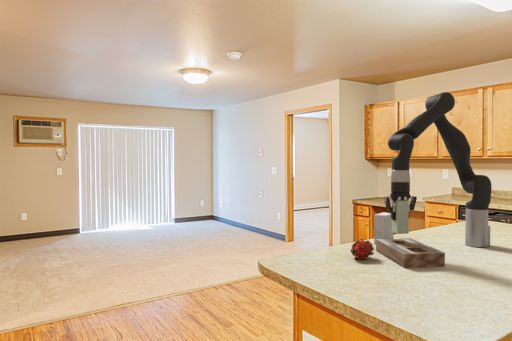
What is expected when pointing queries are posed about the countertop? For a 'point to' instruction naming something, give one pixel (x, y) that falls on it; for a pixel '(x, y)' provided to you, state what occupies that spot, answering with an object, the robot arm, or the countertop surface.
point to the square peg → (401, 218)
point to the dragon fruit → (362, 249)
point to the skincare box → (383, 226)
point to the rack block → (410, 253)
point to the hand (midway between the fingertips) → (400, 220)
